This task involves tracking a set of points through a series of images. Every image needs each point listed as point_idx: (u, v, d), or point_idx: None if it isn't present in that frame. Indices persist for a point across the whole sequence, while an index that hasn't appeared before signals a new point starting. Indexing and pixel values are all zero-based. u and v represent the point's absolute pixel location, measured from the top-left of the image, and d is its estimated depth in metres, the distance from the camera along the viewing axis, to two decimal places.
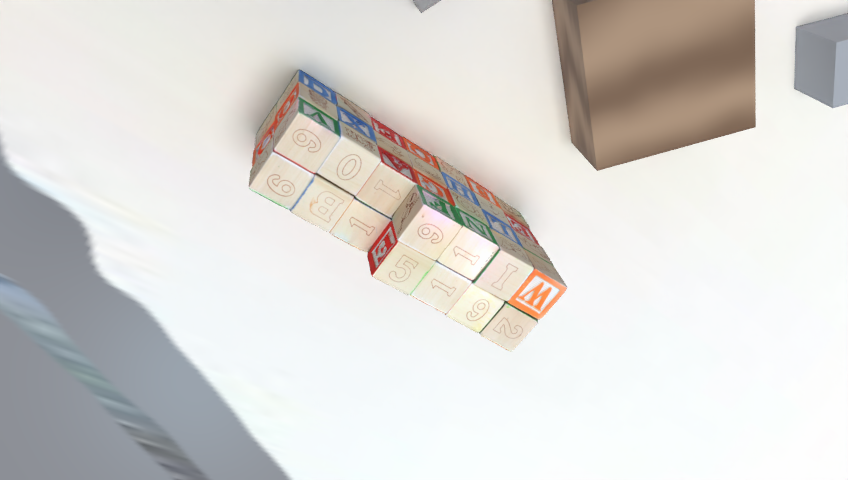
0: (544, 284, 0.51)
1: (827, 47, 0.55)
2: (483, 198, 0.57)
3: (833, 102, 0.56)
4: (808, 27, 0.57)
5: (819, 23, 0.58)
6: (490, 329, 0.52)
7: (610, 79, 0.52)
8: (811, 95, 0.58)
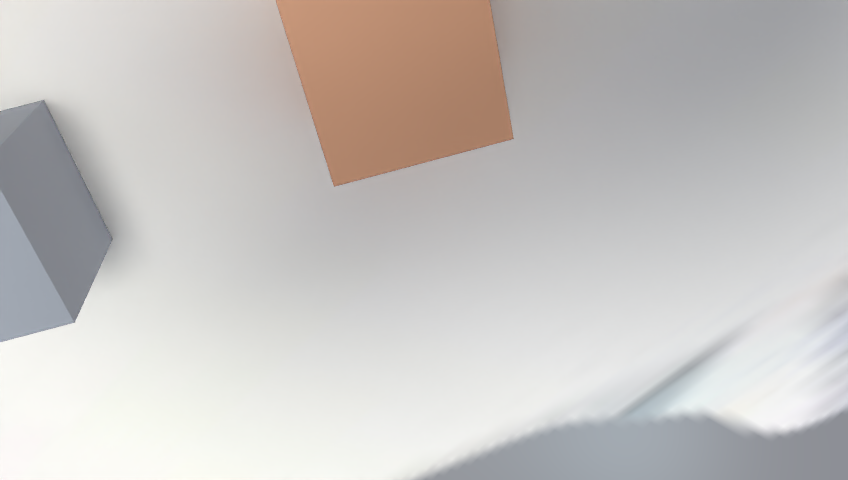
0: None
1: None
2: None
3: None
4: (44, 124, 0.23)
5: (62, 152, 0.23)
6: None
7: None
8: None
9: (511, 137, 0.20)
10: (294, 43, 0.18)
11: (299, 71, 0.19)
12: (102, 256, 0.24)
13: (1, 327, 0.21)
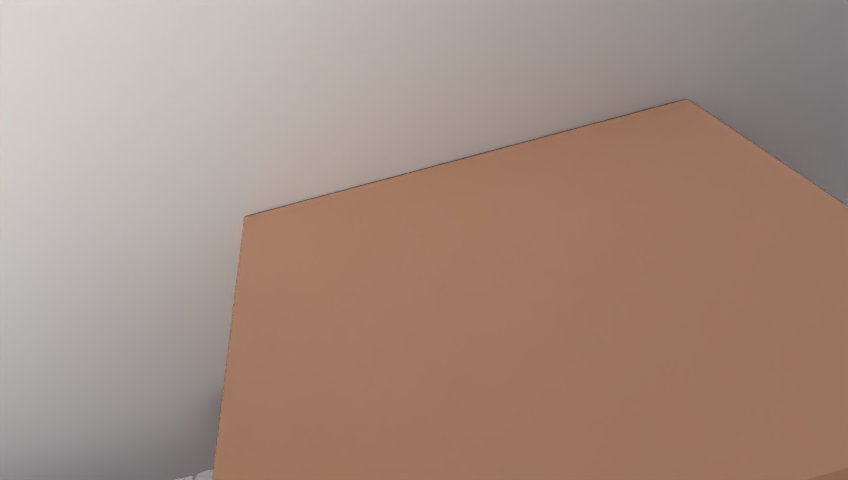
0: None
1: None
2: None
3: None
4: None
5: None
6: None
7: None
8: None
9: None
10: None
11: None
12: None
13: None
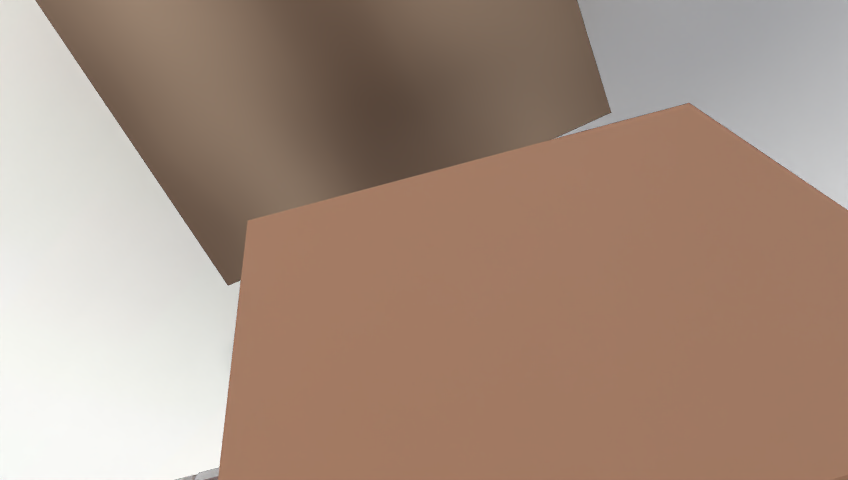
0: None
1: None
2: None
3: None
4: None
5: None
6: None
7: None
8: None
9: None
10: None
11: None
12: None
13: None
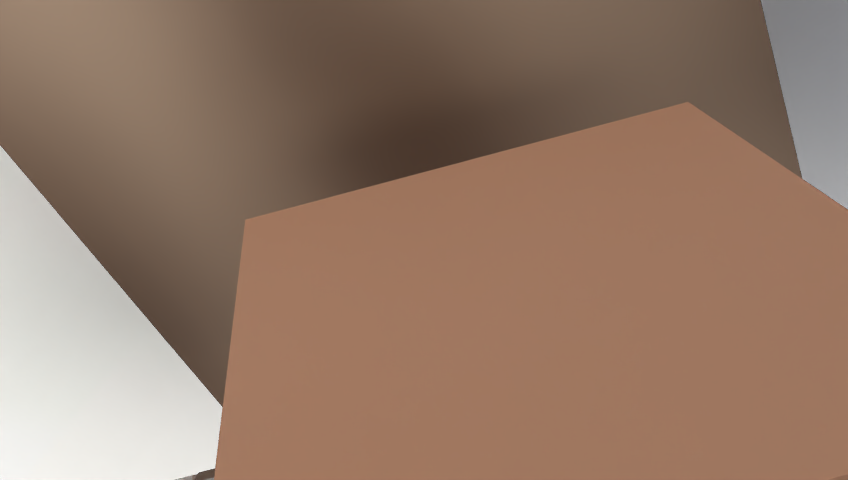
0: None
1: None
2: None
3: None
4: None
5: None
6: None
7: None
8: None
9: None
10: None
11: None
12: None
13: None
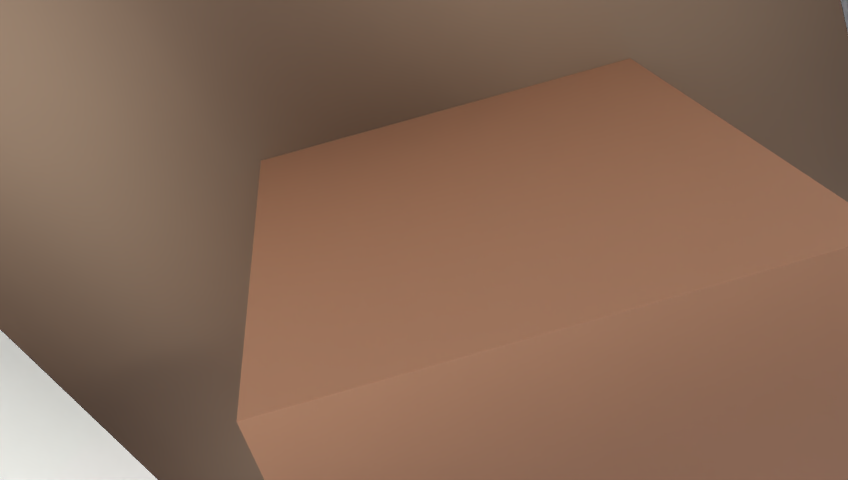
0: None
1: None
2: None
3: None
4: None
5: None
6: None
7: None
8: None
9: None
10: None
11: None
12: None
13: None
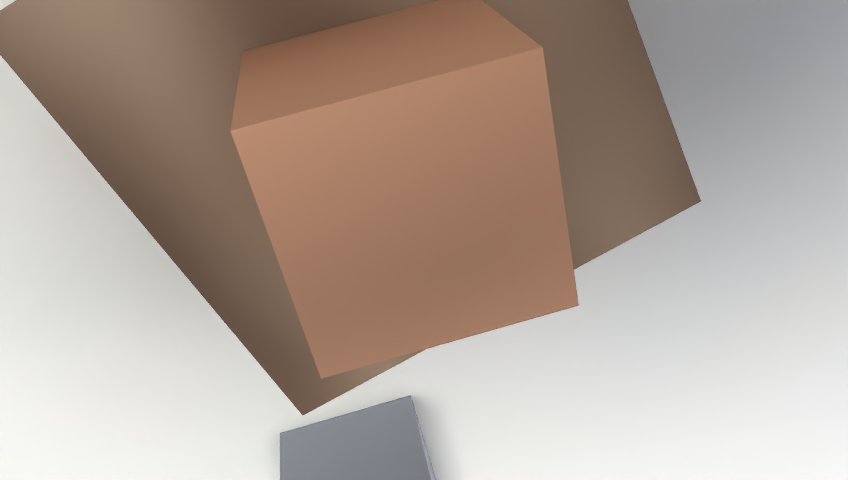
0: None
1: (410, 476, 0.25)
2: None
3: None
4: (417, 419, 0.28)
5: (421, 434, 0.29)
6: None
7: None
8: (284, 477, 0.26)
9: (575, 303, 0.14)
10: (260, 190, 0.12)
11: (268, 229, 0.12)
12: None
13: None
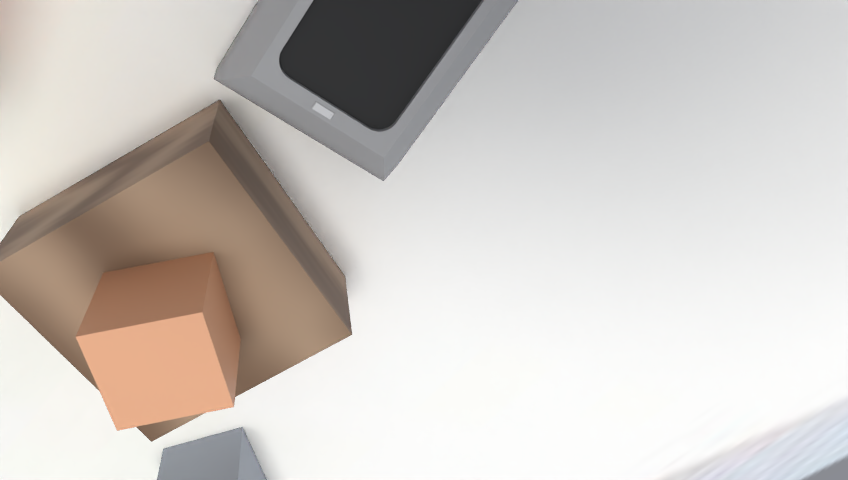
0: None
1: (227, 476, 0.43)
2: None
3: None
4: (244, 441, 0.46)
5: (250, 450, 0.47)
6: None
7: (126, 233, 0.34)
8: (160, 475, 0.45)
9: (232, 406, 0.33)
10: (88, 357, 0.30)
11: (91, 371, 0.31)
12: None
13: None
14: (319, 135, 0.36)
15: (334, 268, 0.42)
